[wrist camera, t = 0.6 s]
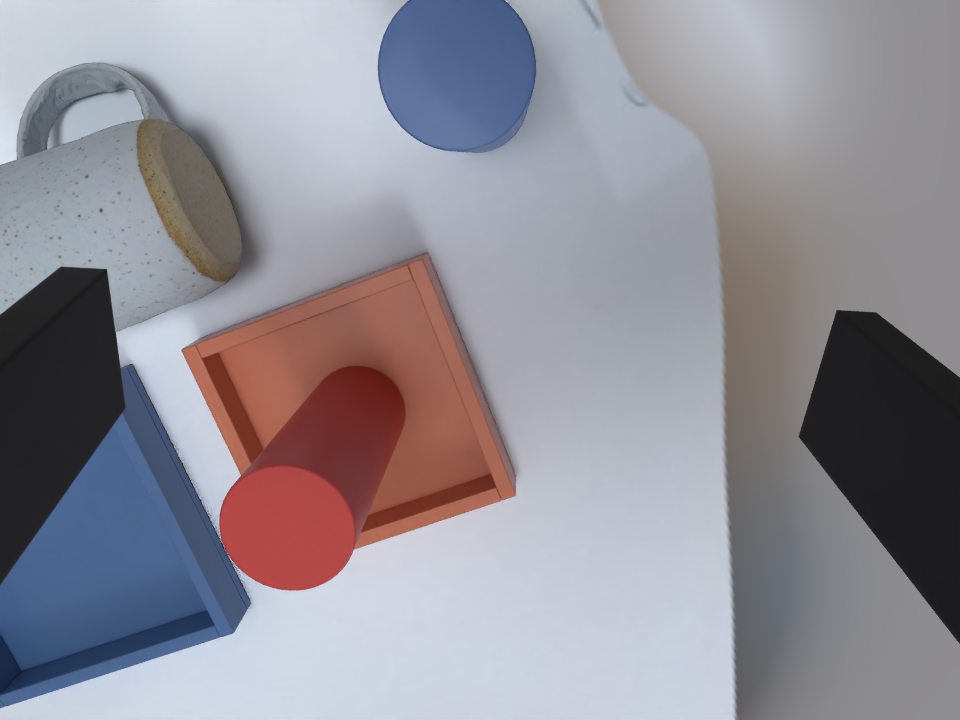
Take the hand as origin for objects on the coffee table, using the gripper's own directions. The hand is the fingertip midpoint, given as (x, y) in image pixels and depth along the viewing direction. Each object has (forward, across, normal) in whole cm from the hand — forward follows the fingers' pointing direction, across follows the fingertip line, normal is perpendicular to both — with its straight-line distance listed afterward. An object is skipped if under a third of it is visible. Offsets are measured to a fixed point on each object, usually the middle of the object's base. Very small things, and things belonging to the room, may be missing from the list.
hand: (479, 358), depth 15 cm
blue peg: (+22, +1, +2) cm, 22 cm away
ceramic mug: (+23, -14, -4) cm, 27 cm away
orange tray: (+20, -4, -12) cm, 23 cm away
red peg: (+19, -4, -12) cm, 23 cm away
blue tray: (+20, -18, -20) cm, 33 cm away
